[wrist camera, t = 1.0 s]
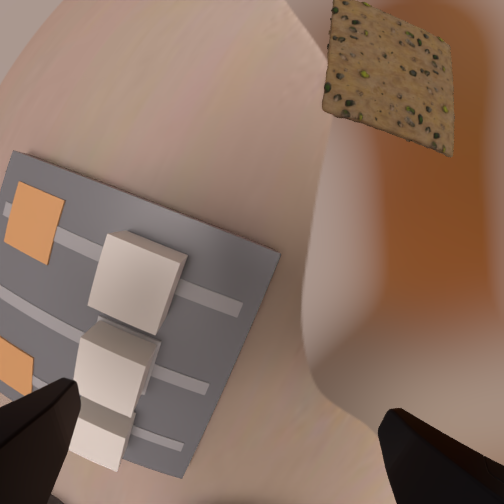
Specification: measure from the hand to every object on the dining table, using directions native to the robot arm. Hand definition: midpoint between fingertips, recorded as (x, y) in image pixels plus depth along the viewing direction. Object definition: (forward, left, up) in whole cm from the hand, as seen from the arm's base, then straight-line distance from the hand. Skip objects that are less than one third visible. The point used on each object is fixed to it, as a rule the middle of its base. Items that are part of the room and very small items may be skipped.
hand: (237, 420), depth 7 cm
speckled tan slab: (-6, -21, -14) cm, 26 cm away
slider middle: (+5, +6, -11) cm, 14 cm away
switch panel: (+8, +6, -13) cm, 17 cm away
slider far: (+5, +12, -11) cm, 17 cm away
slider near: (+5, 0, -11) cm, 12 cm away
